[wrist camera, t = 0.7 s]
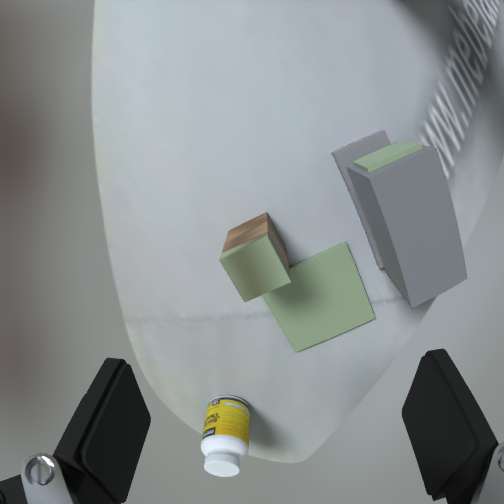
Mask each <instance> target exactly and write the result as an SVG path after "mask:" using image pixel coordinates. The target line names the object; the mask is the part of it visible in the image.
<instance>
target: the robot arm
mask: <svg viewBox="0 0 504 504" xmlns="http://www.w3.org/2000/svg"><path fill="white" fill-rule="evenodd" d="M402 418H403V421H404V423H405V426H406V429H407V432H408V435H409V438H410V441H411V444H412V447H413V450H414V453H415V456H416V459H417V462H418V466H419V469H420V472H421V475H422V479H423V481H424V485H425V488H426V492H427V494H428V495H432V498H433V501H436V500H439V499H442V498H445V497H446V500H447V503H448V504H504V442H502V443H500V444H498V442H497V440H496V438H495V436H494V434H493V432H492V430H491V428H490V426H489V424H488V422H487V420H486V418H485V417H484V414H483V413H482V411H481V409H480V407H479V405H478V404H477V402H476V400H475V398H474V396H473V395H472V393H471V391H470V389H469V388H468V386H467V385H466V383H465V381H464V379H463V378H462V376H461V374H460V373H459V371H458V369H457V368H456V366H455V365H454V363H453V361H452V360H451V358H450V356H449V355H448V353H447V351H446V350H445V349H437V350H431V351H428V352H426V354H425V356H423V357H422V358H421V360H420V363H419V366H418V369H417V372H416V374H415V377H414V380H413V383H412V386H411V388H410V391H409V393H408V396H407V398H406V401H405V404H404V406H403V408H402ZM150 422H151V417H150V413H149V411H148V409H147V406H146V404H145V402H144V399H143V397H142V394H141V392H140V389H139V387H138V384H137V381H136V379H135V376H134V373H133V371H132V368H131V366H130V365H129V364H127V363H126V361H125V360H124V359H116V358H107V359H106V360H105V361H104V363H103V365H102V366H101V368H100V370H99V371H98V373H97V375H96V377H95V379H94V380H93V382H92V384H91V386H90V388H89V389H88V391H87V393H86V394H85V395H84V397H83V398H82V400H81V402H80V404H79V405H78V407H77V409H76V411H75V413H74V415H73V417H72V419H71V420H70V422H69V424H68V426H67V428H66V430H65V432H64V434H63V436H62V438H61V440H60V442H59V444H58V446H57V448H56V450H55V452H54V454H53V456H51V455H49V454H47V453H36V454H33V455H31V456H29V457H28V458H27V459H26V460H25V462H24V463H23V465H22V468H21V474H20V475H17V476H15V477H12V478H9V479H6V480H3V481H0V504H121V503H124V502H125V501H126V499H127V496H128V493H129V490H130V486H131V483H132V480H133V477H134V473H135V470H136V467H137V464H138V460H139V457H140V454H141V451H142V448H143V445H144V442H145V438H146V435H147V432H148V429H149V426H150Z"/></svg>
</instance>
